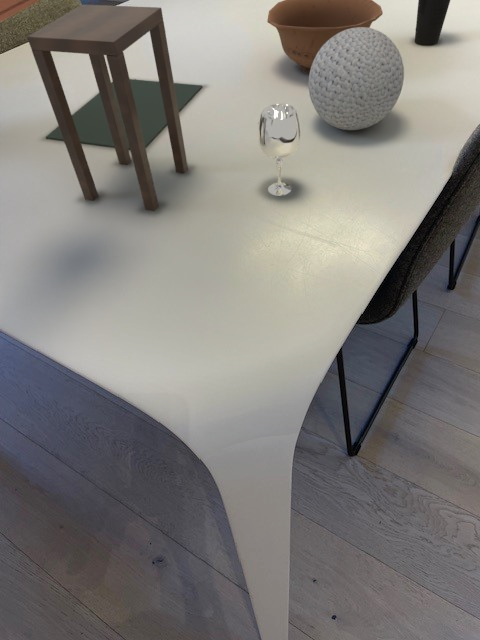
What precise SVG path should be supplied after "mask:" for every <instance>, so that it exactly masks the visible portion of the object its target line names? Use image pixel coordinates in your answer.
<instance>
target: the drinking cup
mask: <svg viewBox="0 0 480 640" xmlns="http://www.w3.org/2000/svg"><path fill="white" fill-rule="evenodd" d="M450 3H451V0H418V3H417V12H416V22H415V23H416V24H415V33H414V34H415V35H414V43H415V44H416V45H417V46H421V47H422V46H424V47H431V46H435V45H437V44H438V43H439V40H440V36H441V33H442V30H443V26H444V23H445V20H446V17H447V14H448V9H449V5H450Z"/></svg>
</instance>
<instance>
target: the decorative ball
mask: <svg viewBox="0 0 480 640" xmlns="http://www.w3.org/2000/svg"><path fill="white" fill-rule="evenodd" d="M404 67H405V66H404V62H403V58H402V55H401V53H400V50H399V48H398V47H397V46H396V44H395V43H394V41H393V40H392V39H391V38H390V37H389V36H388V35H386V34H385V33H383V32H381V31H380V30H377V29H374V28H371V27H370V28H367V27H356V28H350V29H347V30H344V31H342V32H340V33H338V34H336V35H335V36H333V37H332V38H330V39H329V40H328V41H327V42H326V43H325V44H324V45H323V46H322V47H321V49H320V50H319V51H318V53H317V55H316V57H315V59H314V61H313V63H312V66H311V70H310V74H308V93H309V97H310V101H311V104H312V106H313V108H314V110H315V112H316V113H317V114H318V115H319V117H320V118H321V119H322V120H324V122H326V123H327V124H328V125H330V126H332V127H334V128H336V129H339V130H343V131H360V130H364V129H367V128H370V127H372V126H374V125H376V124H378V123H379V122H380V121H382V120H384V119H385V118H386V117H387V116H388V115H389V113H390V112H392V110H393V108H394V107H395V106H396V104H397V102H398V100H399V98H400V95H401V93H402V89H403V85H404V81H405V80H404V79H405V68H404Z"/></svg>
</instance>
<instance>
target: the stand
mask: <svg viewBox="0 0 480 640" xmlns="http://www.w3.org/2000/svg"><path fill="white" fill-rule="evenodd" d="M148 33H149V35H150V36H149V37H150V39H151V45H152V51H153V56H154V62H155V67H156V73H157V77H158V82H159V84H160V89H161V94H162V100H163V105H164V110H165V116H166V121H167V126H166V127H167V131H168V137H169V142H170V147H171V153H172V159H173V163H174V168H175V169H174V170H175V172H176V173H179V174H185V173H186V172H187V171H188V169H189V166H188V160H187V154H186V148H185V142H184V136H183V129H182V124H181V123H182V122H181V118H180V112H179V111H178V105H177V99H176V93H175V87H174V83H175V82H174V76H173V70H172V69H173V68H172V64H171V58H170V52H169V51H170V50H169V47H168V39H167V34H166V33H167V32H166V27H165V22H164V17H163V9H162V7H156V6H128V5H103V4H80V5H79V6H77V7H75V8H73V9H72V10H70V11H68V12H67V13H64V14H63V15H62V16H60V17H58V18H56V19H54V20H53V21H52V22H50V23H48V24H46V25H45V26H43V27H41V28H39V29H37V30H36V31H34V32H32V33H31V34H29V35H27V37H26V38H27V41H28V44H29V47H30V49H31V53H32V55H33V58H34V61H35V63H36V66H37V70H38V72H39V75H40V77H41V78H40V79H41V81H42V84H43V86H44V88H45V92H46V95H47V97H48V100H49V102H50V105H51V108H52V111H53V113H54V117H55V119H56V122H57V125H58V126H59V128H60V131H61V134H62V136H63V139H64V141H63V142H64V144H65V145H64V146H65V147H66V150H67V153H68V156H69V159H70V161H71V164H72V167H73V170H74V172H75V175H76V178H77V181H78V184H79V186H80V189H81V192H82V195H83V198H84V200H85V201H92V202H94V201H95V200H96V198H98V196H99V193H98V191H97V188H96V185H95V182H94V178H93V176H92V172H91V169H90V166H89V163H88V160H87V158H86V154H85V152H84V148H83V144H81V142H80V139H79V136H78V133H77V130H76V127H75V124H74V121H73V118H72V115H73V114H72V112H71V109H70V106H69V103H68V99H67V97H66V94H65V90H64V89H63V85H62V82H61V79H60V75H59V73H58V70H57V67H56V63H55V61H54V58H53V55H52V52H56V53H69V54H82V55H83V54H84V55H88V57H89V61H90V65H91V67H92V72H93V75H94V78H95V82H96V86H97V89H98V93H100V97H101V100H102V104H103V107H104V111H105V114H106V118H107V122H108V125H109V129H110V132H111V136H112V139H113V143H114V147H115V148H114V150H115V153H116V158H117V160H118V165H122V166H123V165H125V166H127V165H129V163H130V162H131V161H132V162H133V167H134V171H135V175H136V179H137V182H138V186H139V190H140V194H141V198H142V201H143V206H144V209H145V210H146V211H148V212H149V211H151V212H155V211H156V210H157V208H158V207H159V206H160V205H159V202H158V196H157V192H156V187H155V184H154V183H155V182H154V179H153V175H152V171H151V167H150V166H151V165H150V162H149V157H148V153H147V147H146V148H145V144H144V140H143V135H142V131H141V127H140V122H139V118H138V114H137V109H136V105H135V100H134V96H133V92H132V87H131V83H130V79H131V78H130V75H129V70H128V67H127V61H126V57H125V53H124V51H126V50H127V49H128V48H129V47H131V46H132V45H133V44H135V43H136V42H137V41H139V40H140V39H141V38H142V37H145V35H146V34H148ZM106 61H107V62H106ZM109 72H110V73H109ZM110 76H111V77H110ZM112 82H113V84H114V88H115V92H116V96H117V100H118V104H119V108H120V112H121V116H122V120H123V124H124V127H125V131H126V135H127V139H128V143H129V147H130V150H128V146H127V142H126V138H125V135H124V131H123V127H122V123H121V119H120V115H119V111H118V107H117V104H116V100H115V96H114V92H113V88H112V84H111V83H112ZM130 154H131V155H130Z"/></svg>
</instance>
